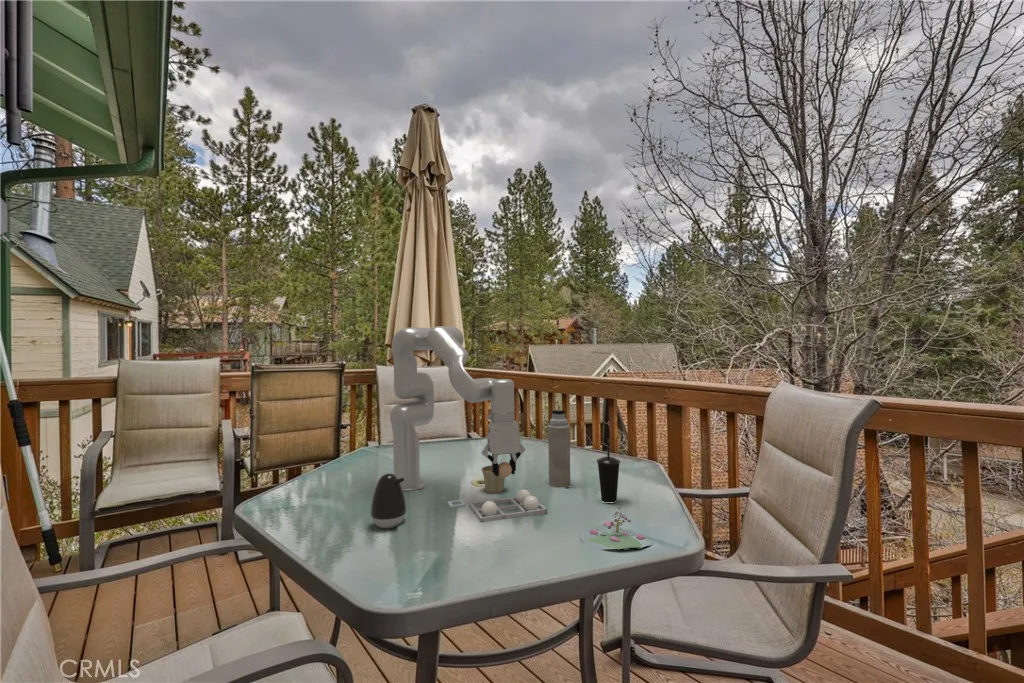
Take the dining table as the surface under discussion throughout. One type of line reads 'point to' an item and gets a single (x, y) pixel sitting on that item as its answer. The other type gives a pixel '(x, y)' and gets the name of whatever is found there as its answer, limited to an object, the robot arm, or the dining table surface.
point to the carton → (540, 510)
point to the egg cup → (456, 504)
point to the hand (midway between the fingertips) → (504, 473)
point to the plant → (616, 536)
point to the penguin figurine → (388, 502)
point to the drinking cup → (608, 477)
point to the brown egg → (504, 469)
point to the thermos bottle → (559, 450)
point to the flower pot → (492, 480)
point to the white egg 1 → (489, 508)
